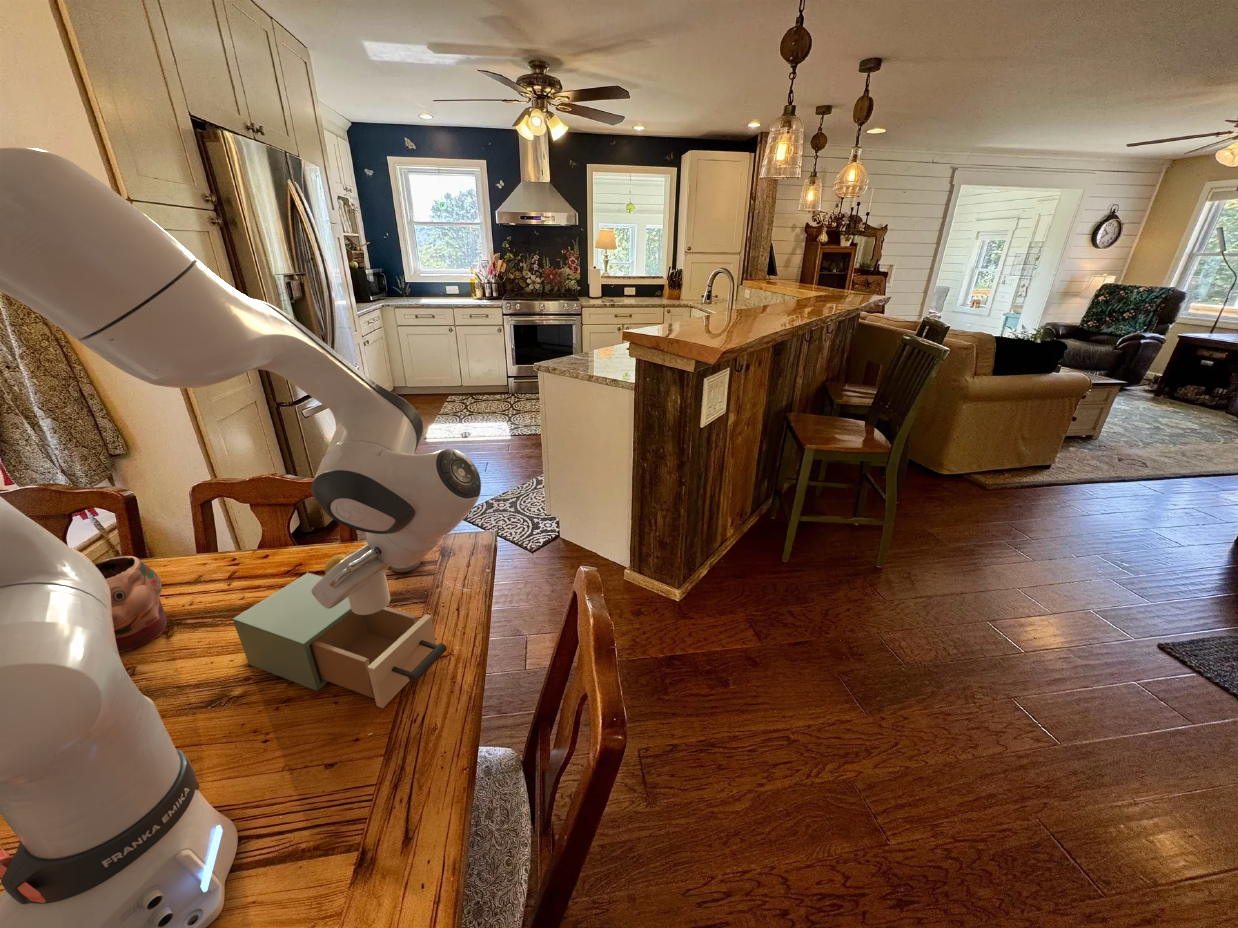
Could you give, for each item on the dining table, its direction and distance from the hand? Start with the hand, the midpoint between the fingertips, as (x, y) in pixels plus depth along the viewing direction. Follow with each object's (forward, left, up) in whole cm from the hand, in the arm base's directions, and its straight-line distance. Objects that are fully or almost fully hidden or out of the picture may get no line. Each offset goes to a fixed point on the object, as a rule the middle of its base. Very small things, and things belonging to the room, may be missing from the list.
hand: (362, 576), depth 75 cm
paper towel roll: (0, -1, -5) cm, 5 cm away
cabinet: (-1, +14, -18) cm, 23 cm away
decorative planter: (-10, +49, -19) cm, 53 cm away
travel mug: (+25, +18, -19) cm, 36 cm away
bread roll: (+19, +28, -19) cm, 39 cm away
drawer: (-1, -2, -18) cm, 18 cm away
